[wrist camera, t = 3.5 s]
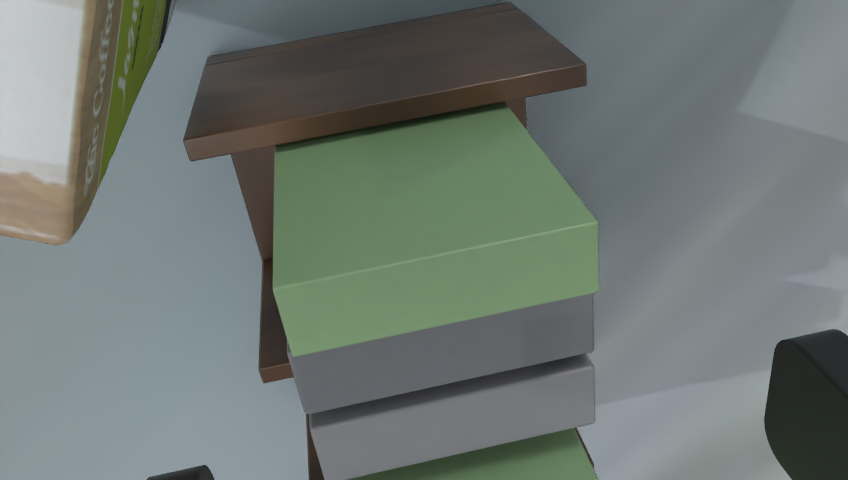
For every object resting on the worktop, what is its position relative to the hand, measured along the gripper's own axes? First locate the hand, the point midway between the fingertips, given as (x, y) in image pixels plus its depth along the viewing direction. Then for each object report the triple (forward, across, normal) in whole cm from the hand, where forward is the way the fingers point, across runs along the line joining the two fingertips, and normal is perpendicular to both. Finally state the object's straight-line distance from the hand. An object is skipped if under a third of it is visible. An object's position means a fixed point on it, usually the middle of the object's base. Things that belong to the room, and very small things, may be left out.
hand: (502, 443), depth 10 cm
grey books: (+16, 0, +3) cm, 16 cm away
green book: (+16, 0, 0) cm, 16 cm away
